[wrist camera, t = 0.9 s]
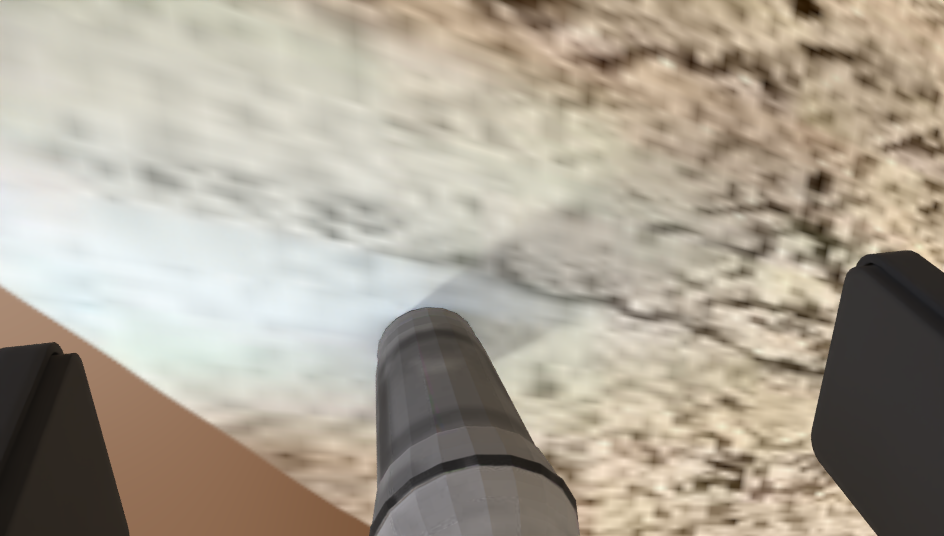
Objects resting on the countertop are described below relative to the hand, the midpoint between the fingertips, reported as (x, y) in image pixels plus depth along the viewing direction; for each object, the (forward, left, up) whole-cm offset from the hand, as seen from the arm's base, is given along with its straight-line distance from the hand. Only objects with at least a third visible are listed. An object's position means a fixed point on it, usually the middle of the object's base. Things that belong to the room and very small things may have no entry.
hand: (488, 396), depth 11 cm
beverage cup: (+15, +5, -24) cm, 29 cm away
